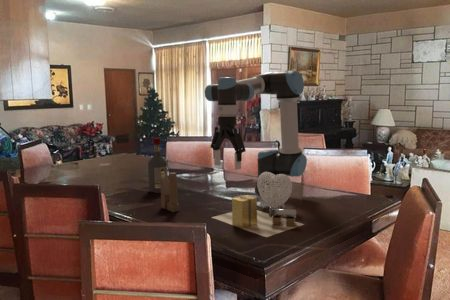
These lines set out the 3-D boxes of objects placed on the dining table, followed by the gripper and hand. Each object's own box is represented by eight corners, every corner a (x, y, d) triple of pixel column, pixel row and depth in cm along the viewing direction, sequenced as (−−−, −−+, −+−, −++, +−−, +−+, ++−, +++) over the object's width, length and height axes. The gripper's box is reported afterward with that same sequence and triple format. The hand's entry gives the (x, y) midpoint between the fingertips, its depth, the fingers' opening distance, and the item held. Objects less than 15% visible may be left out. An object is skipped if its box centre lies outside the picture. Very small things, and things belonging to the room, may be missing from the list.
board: (248, 209, 186) (248, 207, 185) (304, 226, 160) (304, 224, 160) (211, 219, 172) (211, 217, 172) (266, 239, 146) (266, 237, 146)
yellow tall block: (246, 220, 166) (246, 194, 164) (257, 224, 161) (256, 197, 160) (232, 225, 161) (231, 198, 159) (242, 228, 156) (242, 201, 155)
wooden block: (167, 206, 193) (166, 169, 190) (179, 211, 185) (178, 173, 182) (161, 207, 190) (159, 170, 188) (172, 212, 182) (171, 174, 180)
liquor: (147, 191, 224) (144, 138, 220) (160, 188, 231) (158, 137, 227) (157, 193, 218) (155, 139, 214) (170, 190, 225) (168, 138, 221)
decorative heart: (297, 210, 183) (297, 173, 181) (284, 215, 175) (284, 177, 173) (265, 203, 195) (265, 169, 193) (252, 208, 187) (251, 172, 185)
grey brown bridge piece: (269, 225, 160) (269, 208, 159) (270, 221, 165) (270, 205, 164) (295, 227, 157) (295, 210, 156) (296, 223, 162) (296, 206, 161)
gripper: (202, 115, 170) (202, 164, 172) (239, 116, 150) (239, 172, 153) (216, 114, 174) (216, 162, 177) (254, 116, 155) (254, 170, 157)
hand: (227, 167), depth 165 cm, fingers open, 13 cm apart
